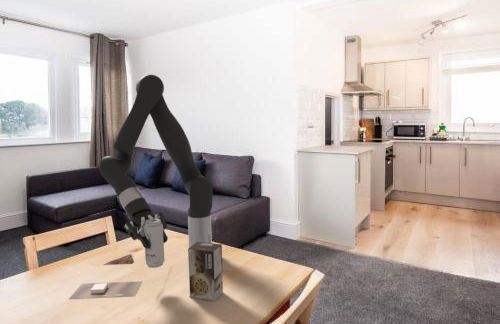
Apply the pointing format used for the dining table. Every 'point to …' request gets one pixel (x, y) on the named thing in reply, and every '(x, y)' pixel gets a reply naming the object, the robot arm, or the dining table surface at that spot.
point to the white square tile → (99, 288)
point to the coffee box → (205, 270)
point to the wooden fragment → (122, 260)
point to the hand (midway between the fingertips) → (157, 244)
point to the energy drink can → (154, 243)
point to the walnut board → (108, 290)
